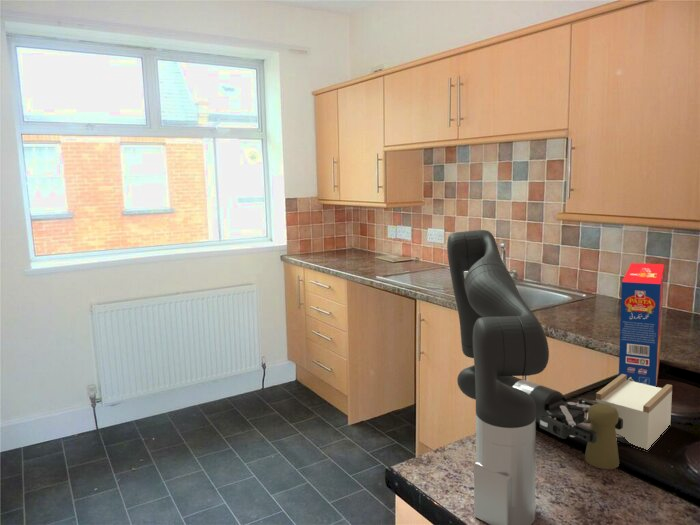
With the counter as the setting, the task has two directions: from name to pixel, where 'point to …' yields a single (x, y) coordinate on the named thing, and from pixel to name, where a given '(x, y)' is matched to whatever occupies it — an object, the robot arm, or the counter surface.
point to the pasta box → (641, 323)
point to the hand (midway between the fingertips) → (609, 431)
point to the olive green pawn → (603, 437)
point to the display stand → (638, 409)
